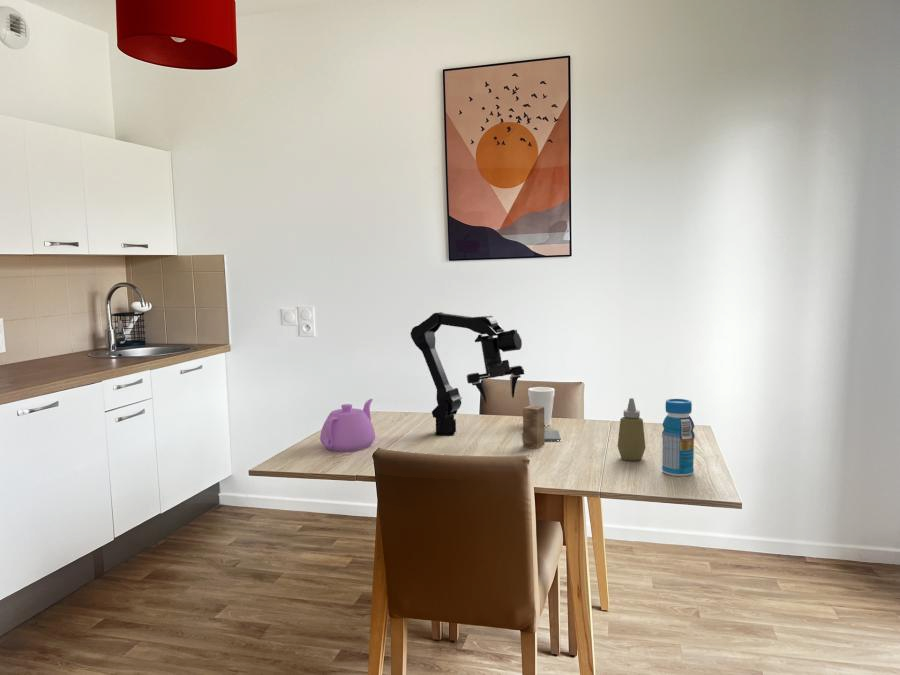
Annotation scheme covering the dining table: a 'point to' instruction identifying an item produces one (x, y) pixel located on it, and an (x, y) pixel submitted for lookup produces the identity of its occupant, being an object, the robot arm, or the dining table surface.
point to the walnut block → (533, 426)
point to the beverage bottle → (678, 438)
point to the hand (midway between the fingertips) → (499, 400)
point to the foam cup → (542, 400)
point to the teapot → (348, 429)
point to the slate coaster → (551, 435)
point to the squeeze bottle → (631, 434)
